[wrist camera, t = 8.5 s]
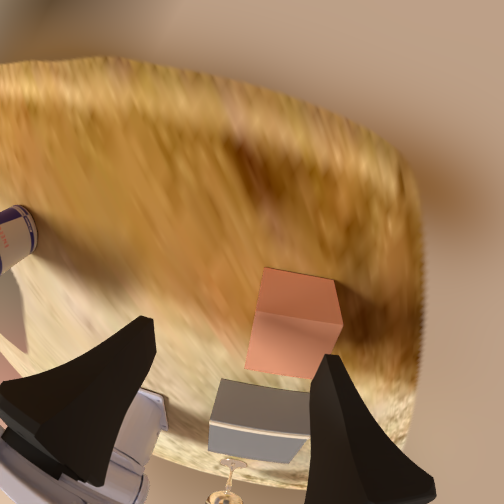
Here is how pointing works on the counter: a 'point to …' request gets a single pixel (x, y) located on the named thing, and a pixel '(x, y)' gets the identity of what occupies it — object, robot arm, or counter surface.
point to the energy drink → (16, 236)
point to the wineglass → (227, 486)
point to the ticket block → (258, 422)
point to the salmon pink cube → (293, 324)
